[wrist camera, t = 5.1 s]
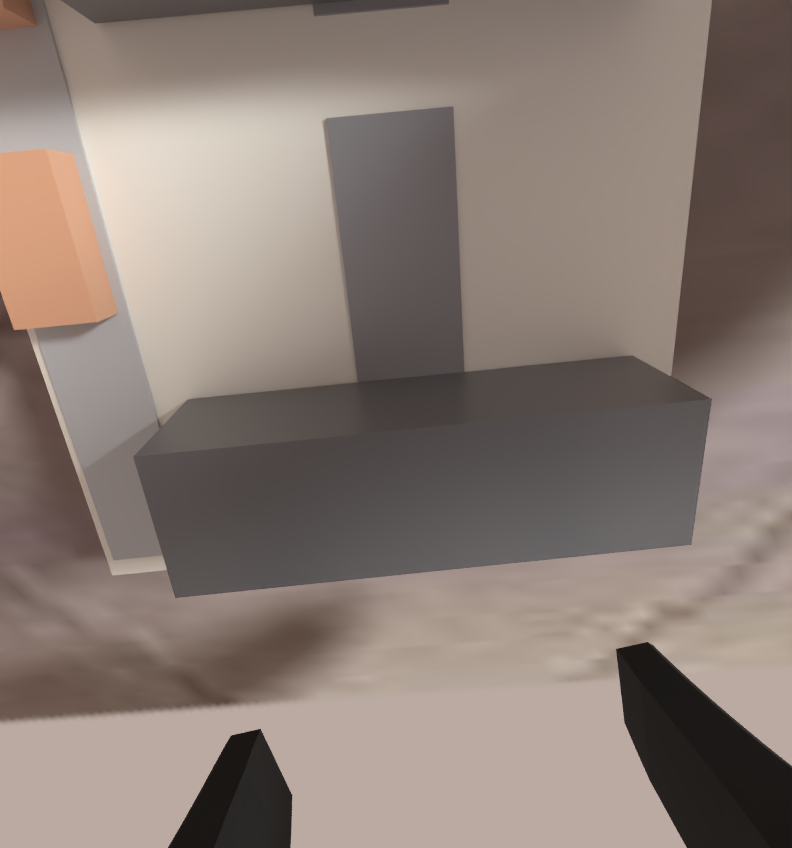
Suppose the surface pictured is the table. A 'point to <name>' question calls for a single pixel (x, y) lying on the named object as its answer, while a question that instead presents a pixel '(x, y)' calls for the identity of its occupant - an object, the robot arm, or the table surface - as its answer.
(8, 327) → the table surface
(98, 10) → the slider middle
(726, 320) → the table surface
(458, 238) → the switch panel
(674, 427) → the slider
